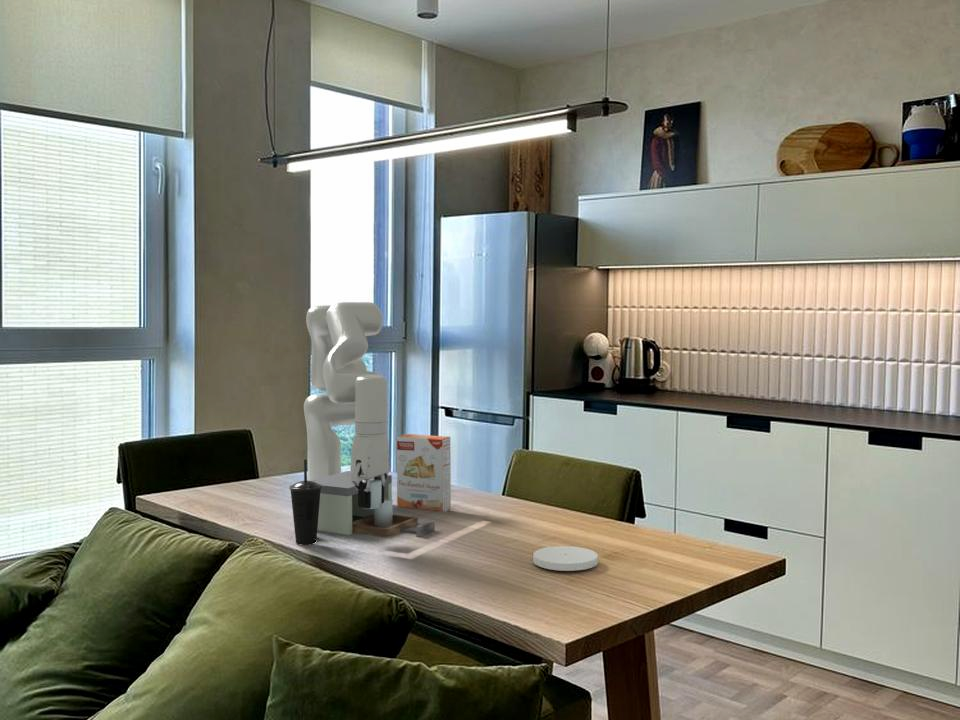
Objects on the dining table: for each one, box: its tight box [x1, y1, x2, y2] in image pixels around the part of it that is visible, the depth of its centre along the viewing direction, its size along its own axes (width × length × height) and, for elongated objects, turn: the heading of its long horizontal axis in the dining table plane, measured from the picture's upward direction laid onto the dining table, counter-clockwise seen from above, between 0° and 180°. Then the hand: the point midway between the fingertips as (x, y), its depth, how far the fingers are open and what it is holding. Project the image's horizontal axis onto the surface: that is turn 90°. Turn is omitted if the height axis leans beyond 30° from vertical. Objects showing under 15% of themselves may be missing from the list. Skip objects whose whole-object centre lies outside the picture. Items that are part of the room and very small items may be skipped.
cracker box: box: [396, 433, 452, 513], centre depth 248 cm, size 14×6×21 cm, turn 68°
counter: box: [312, 470, 393, 536], centre depth 227 cm, size 19×25×12 cm
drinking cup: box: [288, 458, 322, 546], centre depth 214 cm, size 8×8×20 cm
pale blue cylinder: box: [362, 479, 382, 509], centre depth 211 cm, size 5×5×6 cm
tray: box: [352, 513, 436, 538], centre depth 223 cm, size 14×19×3 cm
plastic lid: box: [532, 545, 599, 572], centre depth 196 cm, size 14×14×2 cm
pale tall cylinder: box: [374, 499, 394, 526], centre depth 228 cm, size 5×5×6 cm
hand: (371, 504), depth 211 cm, fingers closed on pale blue cylinder, 4 cm apart
